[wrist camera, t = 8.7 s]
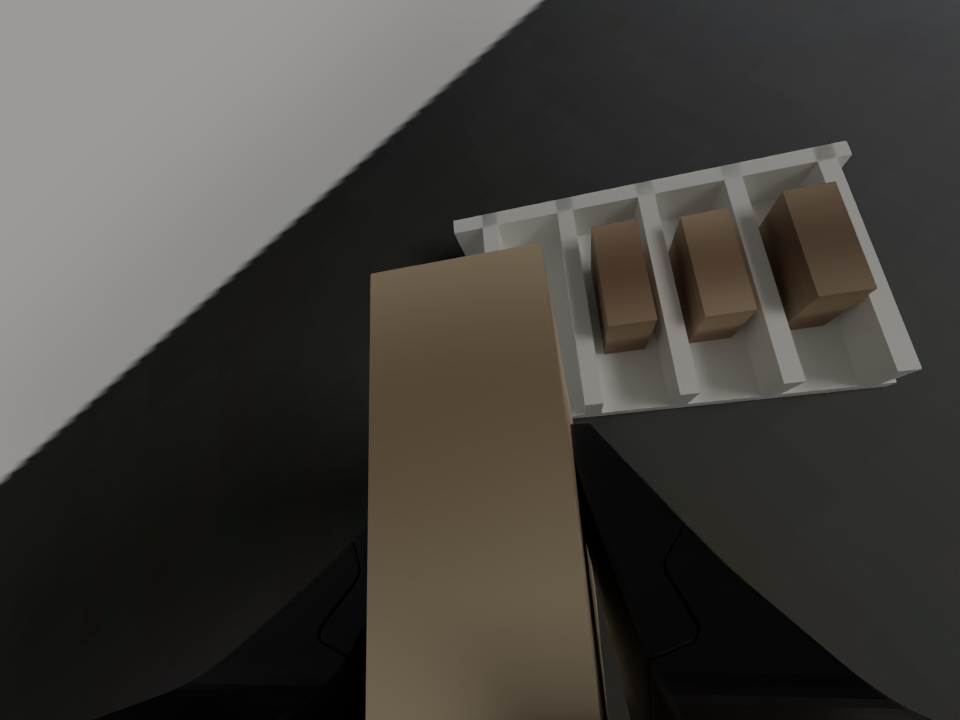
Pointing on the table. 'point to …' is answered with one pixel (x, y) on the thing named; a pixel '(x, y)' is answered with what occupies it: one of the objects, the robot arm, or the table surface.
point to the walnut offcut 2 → (710, 276)
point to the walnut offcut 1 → (621, 287)
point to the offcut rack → (668, 355)
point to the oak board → (475, 501)
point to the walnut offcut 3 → (815, 255)
